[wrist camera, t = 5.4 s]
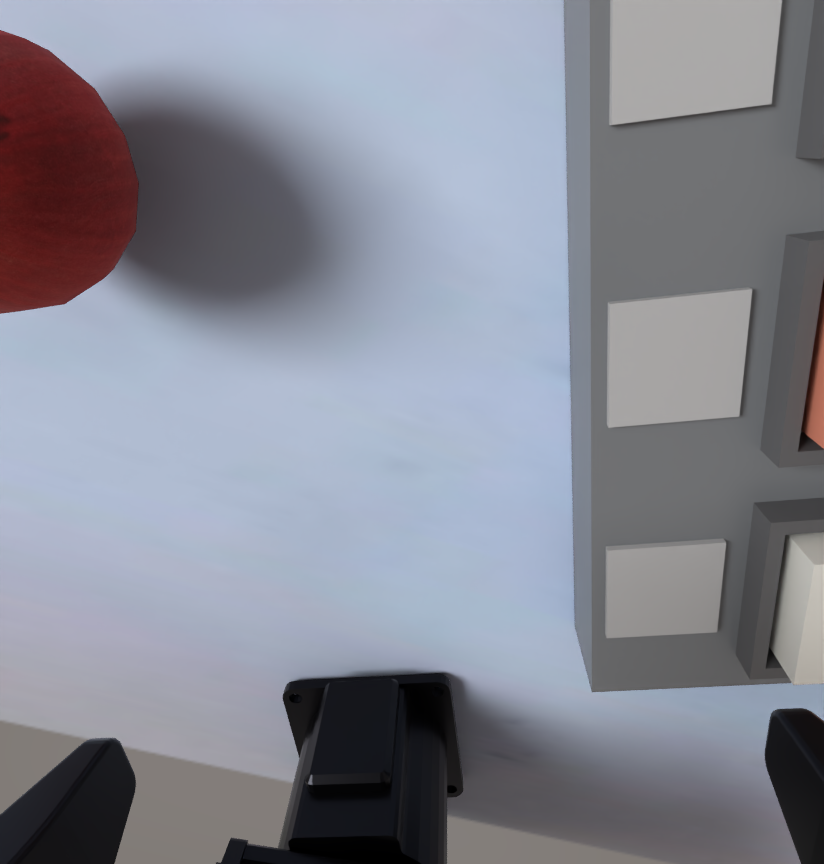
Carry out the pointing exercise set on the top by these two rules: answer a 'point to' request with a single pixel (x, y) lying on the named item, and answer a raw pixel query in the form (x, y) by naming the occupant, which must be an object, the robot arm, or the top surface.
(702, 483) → the button panel
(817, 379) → the button middle
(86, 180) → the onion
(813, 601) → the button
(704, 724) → the top surface
